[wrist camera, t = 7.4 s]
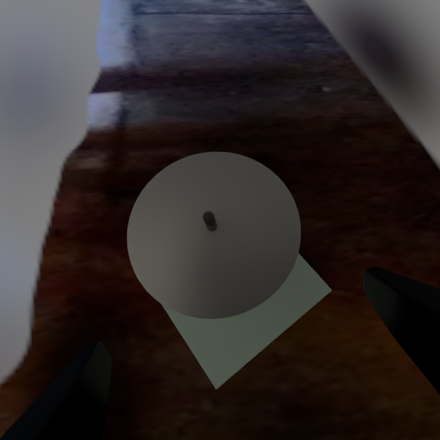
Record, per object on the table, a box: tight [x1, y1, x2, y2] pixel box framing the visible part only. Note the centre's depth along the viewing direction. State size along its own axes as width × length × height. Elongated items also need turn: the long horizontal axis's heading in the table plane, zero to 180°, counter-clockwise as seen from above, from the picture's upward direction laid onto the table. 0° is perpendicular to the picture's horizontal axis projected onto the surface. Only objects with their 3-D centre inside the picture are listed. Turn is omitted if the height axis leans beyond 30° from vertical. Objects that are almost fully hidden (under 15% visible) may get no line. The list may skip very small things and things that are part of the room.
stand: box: [162, 253, 332, 389], centre depth 20 cm, size 10×10×2 cm
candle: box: [127, 152, 301, 319], centre depth 13 cm, size 5×5×13 cm
